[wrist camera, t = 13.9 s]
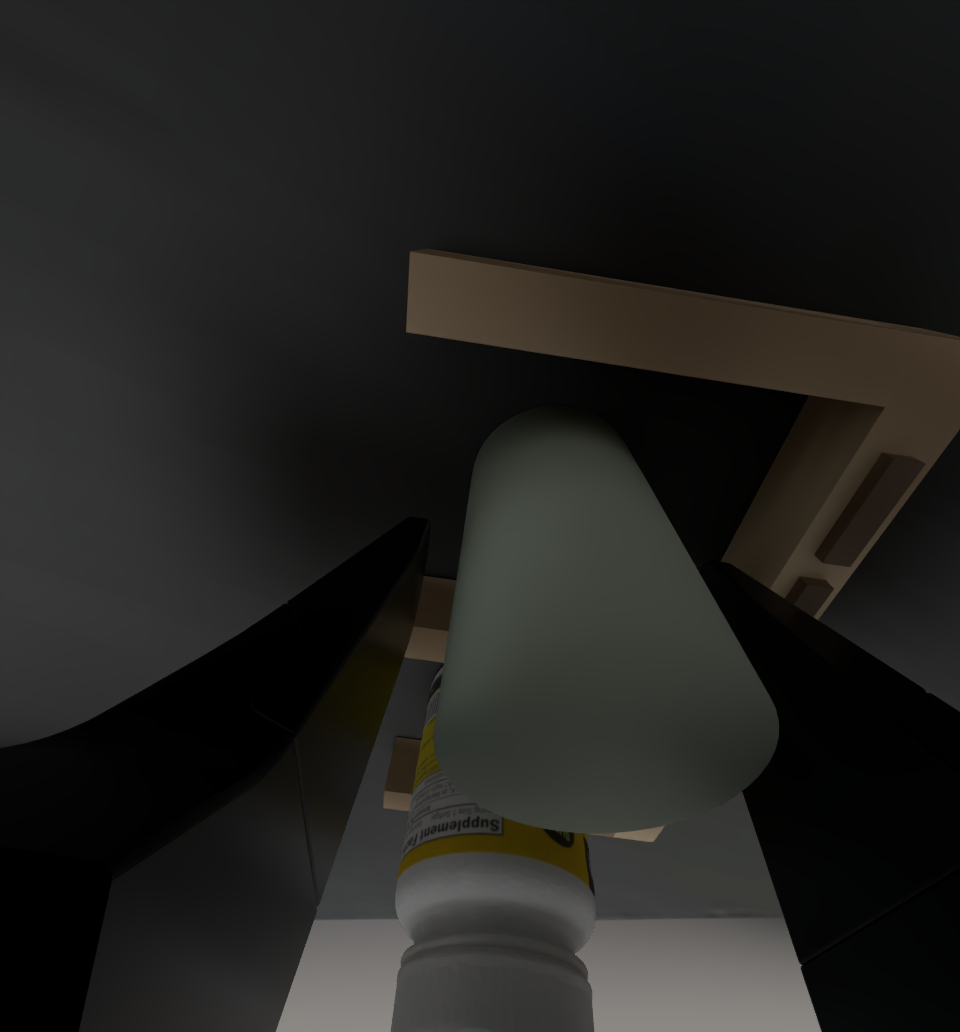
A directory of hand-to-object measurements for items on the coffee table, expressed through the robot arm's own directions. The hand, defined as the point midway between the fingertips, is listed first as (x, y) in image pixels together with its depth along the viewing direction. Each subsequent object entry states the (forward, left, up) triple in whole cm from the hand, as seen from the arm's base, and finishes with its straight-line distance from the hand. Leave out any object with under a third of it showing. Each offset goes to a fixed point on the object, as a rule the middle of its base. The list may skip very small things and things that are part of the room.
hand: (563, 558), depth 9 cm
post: (0, 0, -3) cm, 3 cm away
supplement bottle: (-8, 0, -3) cm, 9 cm away
